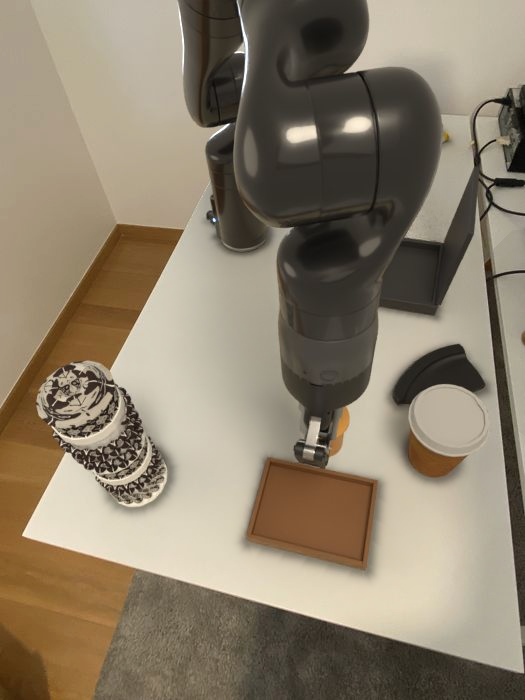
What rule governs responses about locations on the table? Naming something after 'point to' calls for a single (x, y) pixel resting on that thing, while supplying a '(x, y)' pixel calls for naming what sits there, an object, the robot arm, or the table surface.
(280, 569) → the table surface
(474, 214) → the box lid
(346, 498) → the tray
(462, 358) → the dark sector wedge
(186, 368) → the table surface
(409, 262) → the gray open box
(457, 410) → the disposable coffee cup
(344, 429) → the cylinder
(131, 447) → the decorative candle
